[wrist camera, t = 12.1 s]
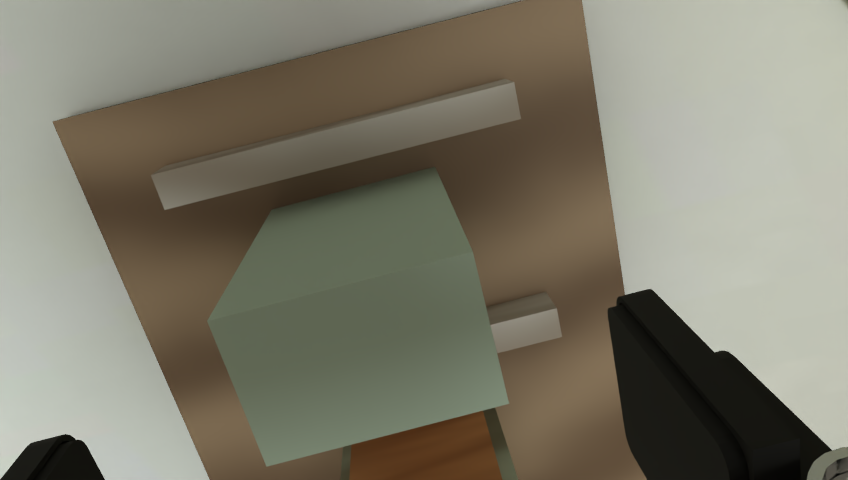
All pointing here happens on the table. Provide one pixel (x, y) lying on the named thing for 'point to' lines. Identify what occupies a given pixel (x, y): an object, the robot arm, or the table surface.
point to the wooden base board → (368, 163)
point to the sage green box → (357, 320)
